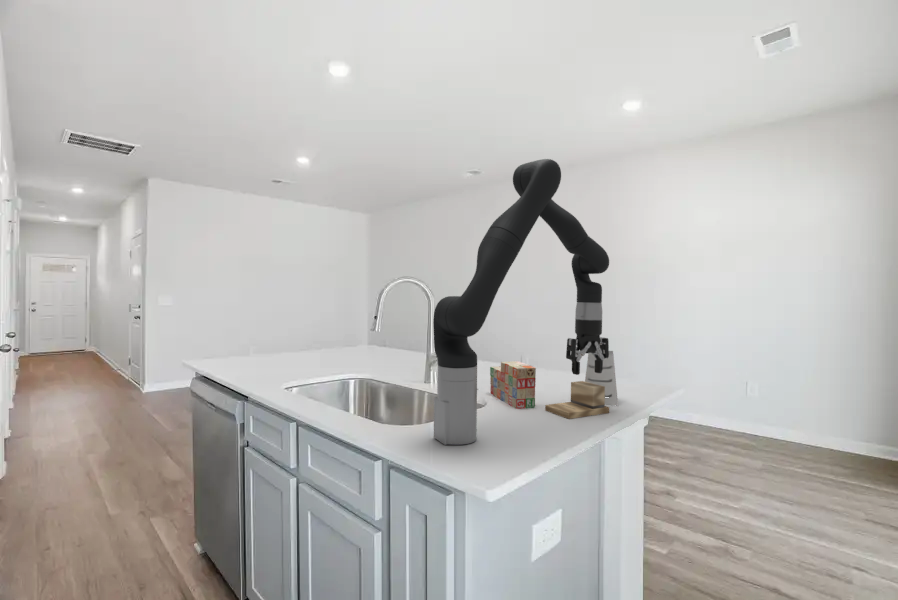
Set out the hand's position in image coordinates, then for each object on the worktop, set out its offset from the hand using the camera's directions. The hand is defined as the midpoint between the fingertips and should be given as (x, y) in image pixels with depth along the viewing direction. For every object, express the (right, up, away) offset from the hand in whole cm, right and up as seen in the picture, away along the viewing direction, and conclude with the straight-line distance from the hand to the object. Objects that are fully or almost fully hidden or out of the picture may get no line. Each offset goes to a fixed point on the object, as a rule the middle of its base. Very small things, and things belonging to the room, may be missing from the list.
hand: (587, 373), depth 135 cm
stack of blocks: (-21, -11, +12) cm, 26 cm away
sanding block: (0, -9, 0) cm, 9 cm away
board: (-3, -11, -2) cm, 11 cm away
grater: (+8, -11, +12) cm, 18 cm away
